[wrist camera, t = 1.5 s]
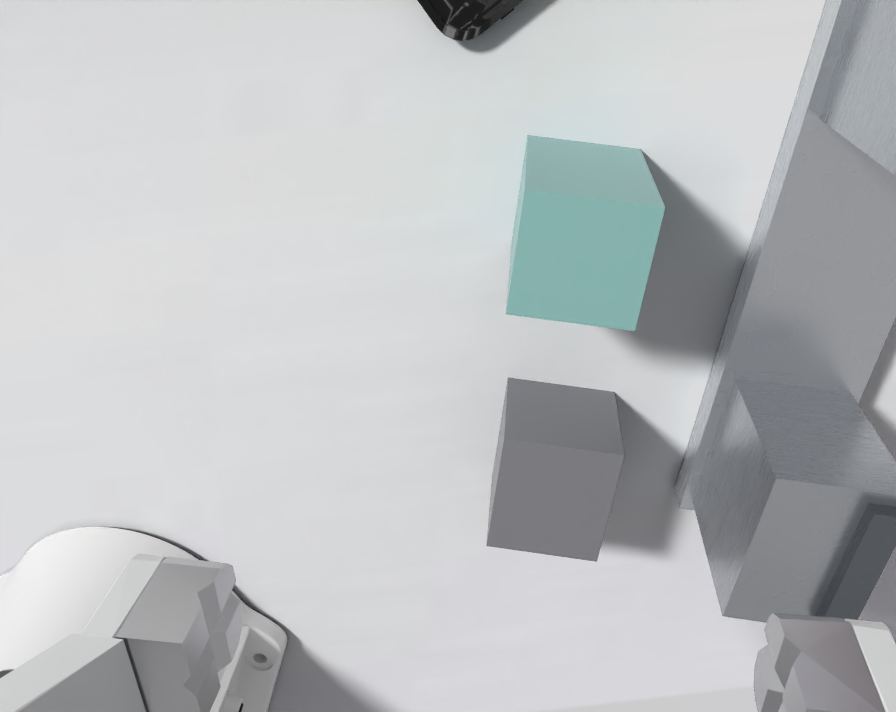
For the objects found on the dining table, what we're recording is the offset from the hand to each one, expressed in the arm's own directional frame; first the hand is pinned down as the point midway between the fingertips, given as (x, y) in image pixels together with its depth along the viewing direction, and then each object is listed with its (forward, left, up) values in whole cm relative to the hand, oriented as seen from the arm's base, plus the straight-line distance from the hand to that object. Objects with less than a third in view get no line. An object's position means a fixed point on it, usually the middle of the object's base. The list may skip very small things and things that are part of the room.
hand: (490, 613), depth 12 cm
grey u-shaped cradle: (-2, -13, -23) cm, 26 cm away
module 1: (-1, -2, -23) cm, 23 cm away
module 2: (-13, -3, -23) cm, 27 cm away
